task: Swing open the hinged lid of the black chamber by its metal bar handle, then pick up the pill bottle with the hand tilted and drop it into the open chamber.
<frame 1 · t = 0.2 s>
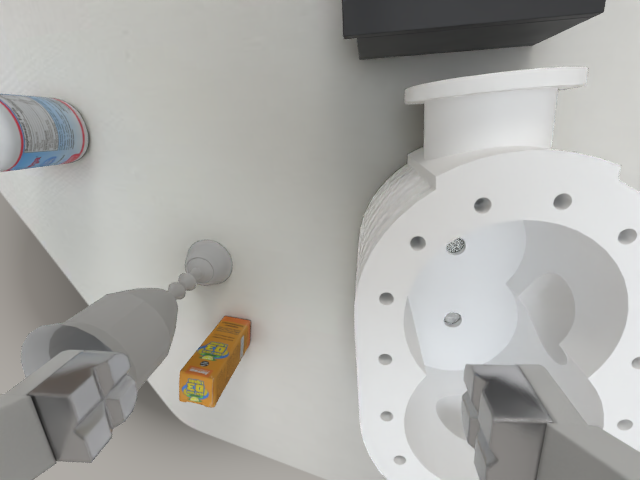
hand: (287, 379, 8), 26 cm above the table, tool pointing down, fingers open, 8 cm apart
supplement box: (237, 327, 39), on the table
chalice: (210, 261, 37), on the table
pill bottle: (65, 131, 35), on the table
housing: (474, 279, 34), on the table
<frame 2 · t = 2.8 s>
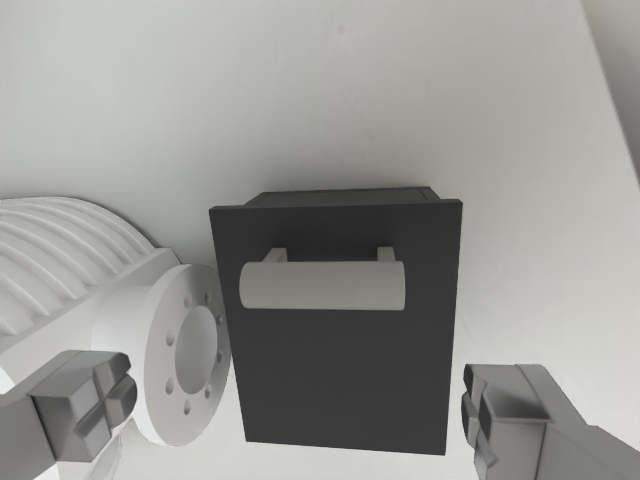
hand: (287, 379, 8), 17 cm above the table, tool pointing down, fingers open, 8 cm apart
chamber lid: (332, 364, 16), point 10 cm above the table, hinge at 0.0°
chamber: (346, 279, 26), on the table
housing: (59, 318, 31), on the table
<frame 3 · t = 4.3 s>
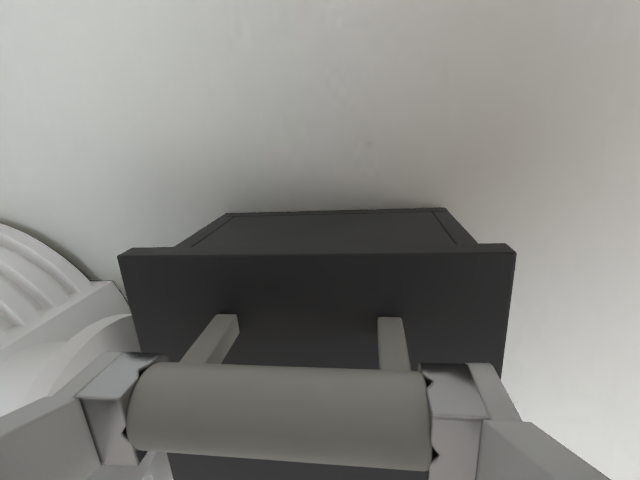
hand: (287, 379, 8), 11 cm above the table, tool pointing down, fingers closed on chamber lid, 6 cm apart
chamber: (336, 323, 20), on the table
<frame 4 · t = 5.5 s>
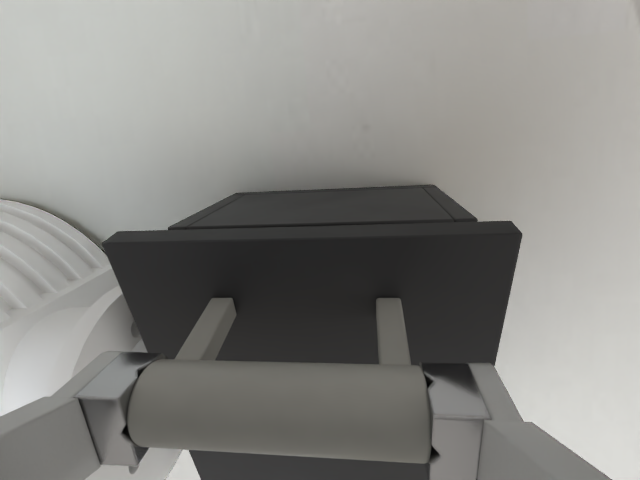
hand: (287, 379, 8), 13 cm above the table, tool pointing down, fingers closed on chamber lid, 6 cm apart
chamber lid: (311, 461, 11), point 12 cm above the table, hinge at 10.6°, touching gripper
chamber: (336, 295, 22), on the table
housing: (3, 341, 27), on the table
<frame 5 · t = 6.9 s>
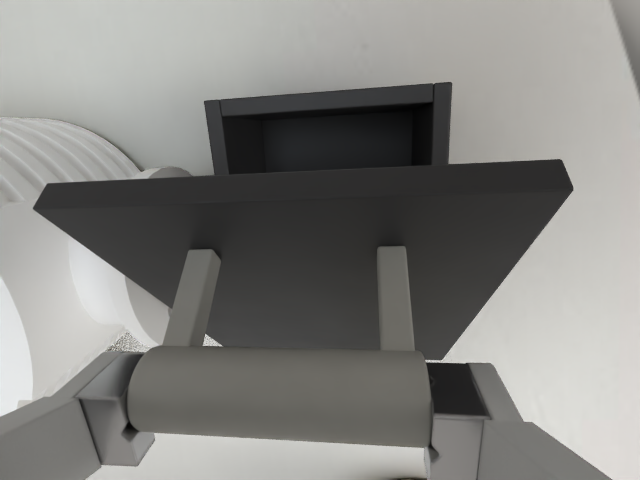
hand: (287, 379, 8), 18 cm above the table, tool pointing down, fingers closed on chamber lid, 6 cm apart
chamber lid: (315, 361, 13), point 15 cm above the table, hinge at 41.6°, touching gripper
chamber: (339, 202, 26), on the table
housing: (42, 258, 30), on the table
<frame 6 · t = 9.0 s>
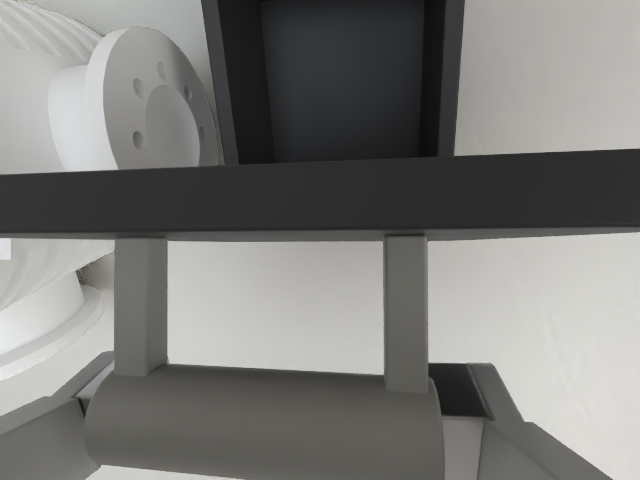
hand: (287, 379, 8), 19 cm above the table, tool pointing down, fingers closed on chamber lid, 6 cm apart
chamber lid: (312, 293, 11), point 16 cm above the table, hinge at 69.5°, touching gripper
chamber: (343, 100, 24), on the table
housing: (35, 172, 29), on the table
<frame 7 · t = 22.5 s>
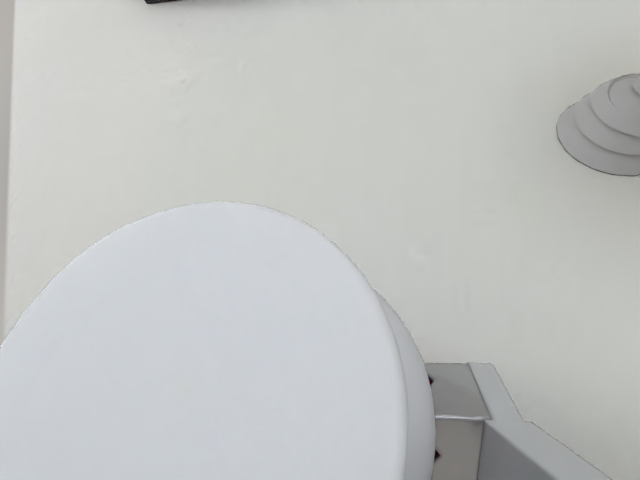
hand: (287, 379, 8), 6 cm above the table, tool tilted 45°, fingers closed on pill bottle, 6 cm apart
chalice: (611, 136, 17), on the table
pill bottle: (320, 412, 14), on the table, touching gripper
when the fingers open (12 cm above the table, at t = 32.0 s): pill bottle drops 1 cm, resting on chamber, chamber lid.
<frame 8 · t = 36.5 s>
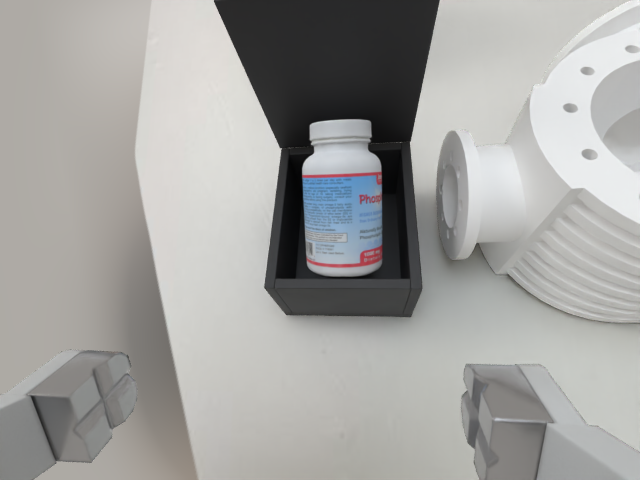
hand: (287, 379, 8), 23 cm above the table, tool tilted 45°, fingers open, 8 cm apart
chamber lid: (337, 59, 25), point 16 cm above the table, hinge at 79.9°, touching pill bottle
chamber: (347, 249, 35), on the table
pill bottle: (344, 270, 28), point 6 cm above the table, touching chamber, chamber lid
housing: (616, 210, 34), on the table
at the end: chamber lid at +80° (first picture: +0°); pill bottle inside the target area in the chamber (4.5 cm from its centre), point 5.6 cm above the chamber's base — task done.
